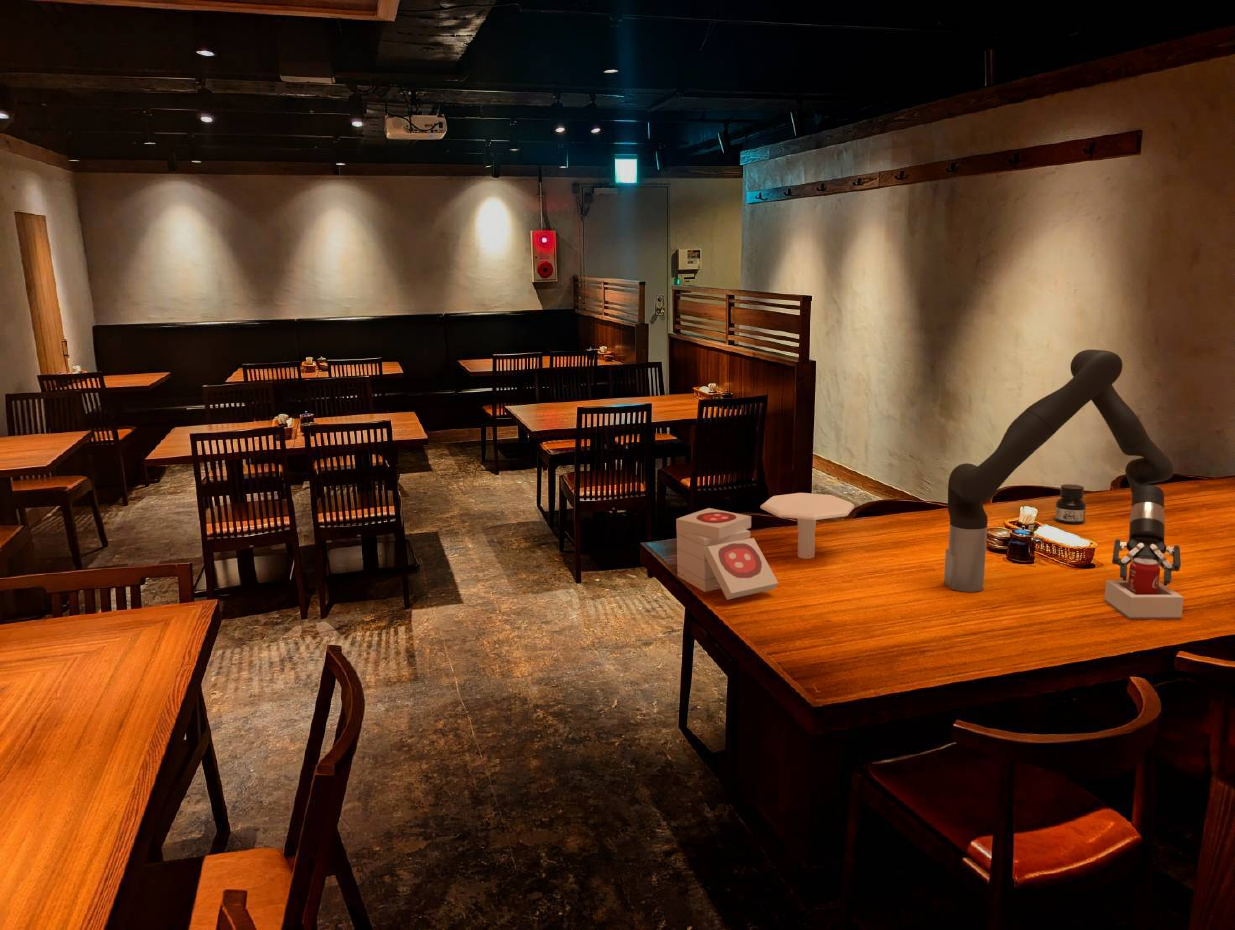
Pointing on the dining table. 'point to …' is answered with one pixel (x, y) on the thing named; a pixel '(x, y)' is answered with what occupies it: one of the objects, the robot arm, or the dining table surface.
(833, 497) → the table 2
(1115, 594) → the well holder
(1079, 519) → the ink bottle
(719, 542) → the pizza boxes
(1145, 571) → the beverage can
